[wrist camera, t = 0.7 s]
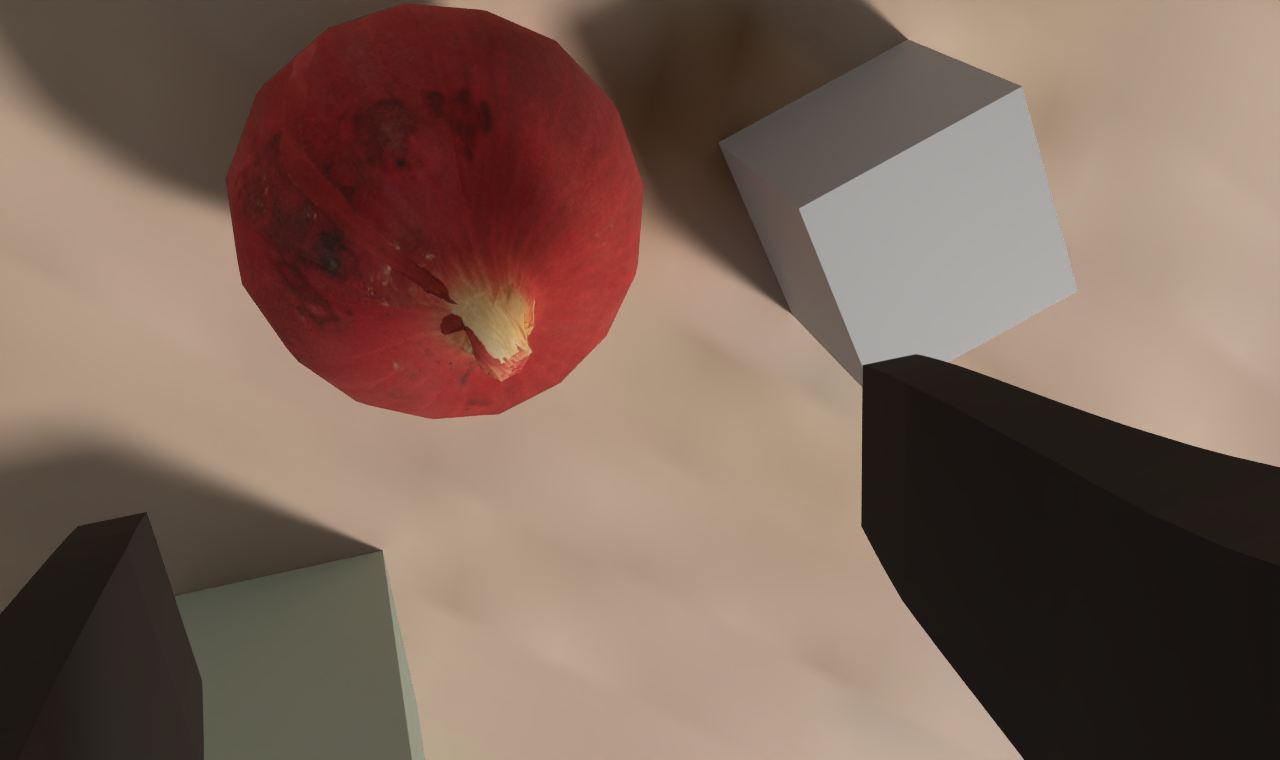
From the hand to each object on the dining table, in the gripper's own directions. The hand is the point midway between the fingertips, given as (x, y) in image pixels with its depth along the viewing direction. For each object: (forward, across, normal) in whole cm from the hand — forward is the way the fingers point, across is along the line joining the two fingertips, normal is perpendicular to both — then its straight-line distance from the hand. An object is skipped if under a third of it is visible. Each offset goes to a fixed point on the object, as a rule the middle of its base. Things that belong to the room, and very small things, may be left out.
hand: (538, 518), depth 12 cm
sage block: (+10, +4, +9) cm, 14 cm away
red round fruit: (+11, 0, -1) cm, 11 cm away
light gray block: (+10, -8, +1) cm, 13 cm away
